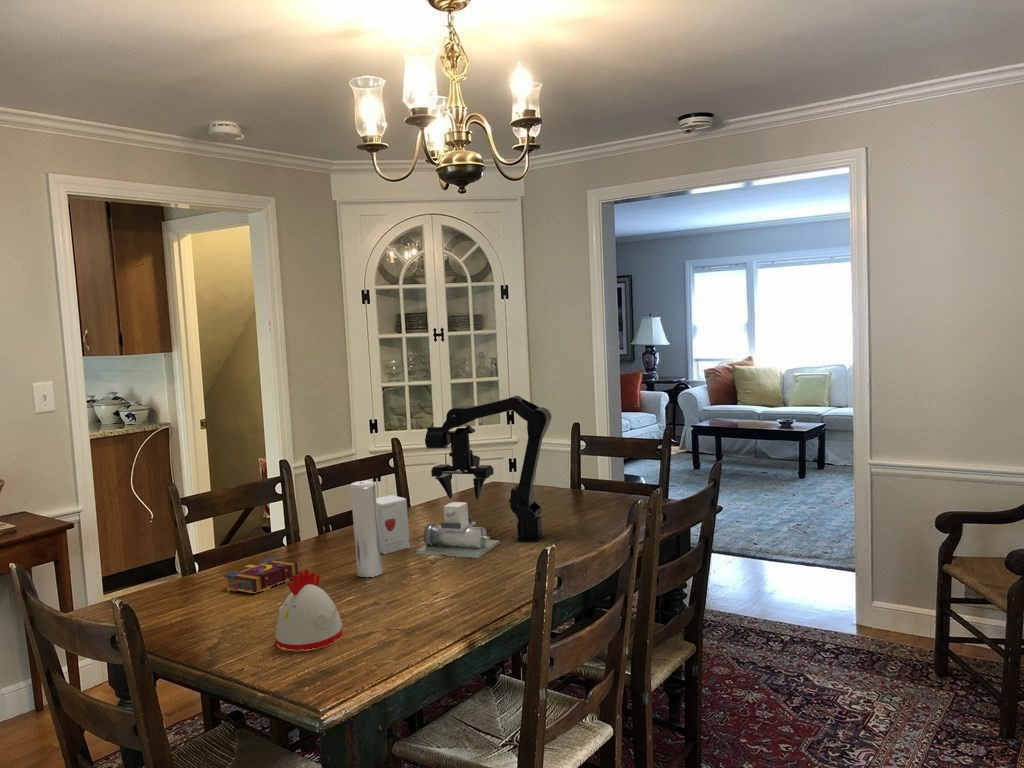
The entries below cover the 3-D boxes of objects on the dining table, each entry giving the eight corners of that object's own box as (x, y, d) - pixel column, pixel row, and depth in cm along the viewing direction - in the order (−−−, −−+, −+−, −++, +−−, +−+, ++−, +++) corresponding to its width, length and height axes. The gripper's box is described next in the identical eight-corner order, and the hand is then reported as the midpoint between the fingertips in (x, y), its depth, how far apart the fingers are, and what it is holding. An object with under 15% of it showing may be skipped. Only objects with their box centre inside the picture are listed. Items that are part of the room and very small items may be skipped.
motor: (500, 543, 229) (498, 515, 228) (479, 558, 216) (477, 528, 216) (440, 540, 237) (438, 512, 237) (416, 553, 225) (414, 524, 224)
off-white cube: (468, 522, 227) (467, 502, 227) (457, 529, 221) (455, 508, 221) (453, 522, 230) (452, 502, 229) (441, 528, 223) (440, 507, 223)
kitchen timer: (262, 645, 166) (256, 576, 164) (312, 622, 177) (306, 557, 176) (307, 657, 158) (300, 585, 157) (356, 632, 169) (350, 564, 168)
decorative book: (299, 578, 210) (298, 560, 210) (251, 598, 197) (249, 578, 196) (270, 573, 216) (269, 555, 216) (222, 592, 202) (220, 573, 202)
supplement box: (384, 555, 226) (380, 504, 224) (369, 549, 232) (364, 500, 231) (411, 547, 231) (407, 498, 230) (395, 542, 238) (391, 494, 237)
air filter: (377, 578, 205) (369, 484, 203) (353, 578, 206) (345, 485, 204) (385, 570, 211) (378, 479, 209) (363, 570, 212) (355, 479, 210)
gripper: (499, 443, 239) (503, 493, 240) (446, 443, 247) (449, 492, 248) (483, 450, 229) (487, 502, 230) (428, 449, 237) (432, 500, 238)
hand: (464, 498), depth 237 cm, fingers open, 9 cm apart
